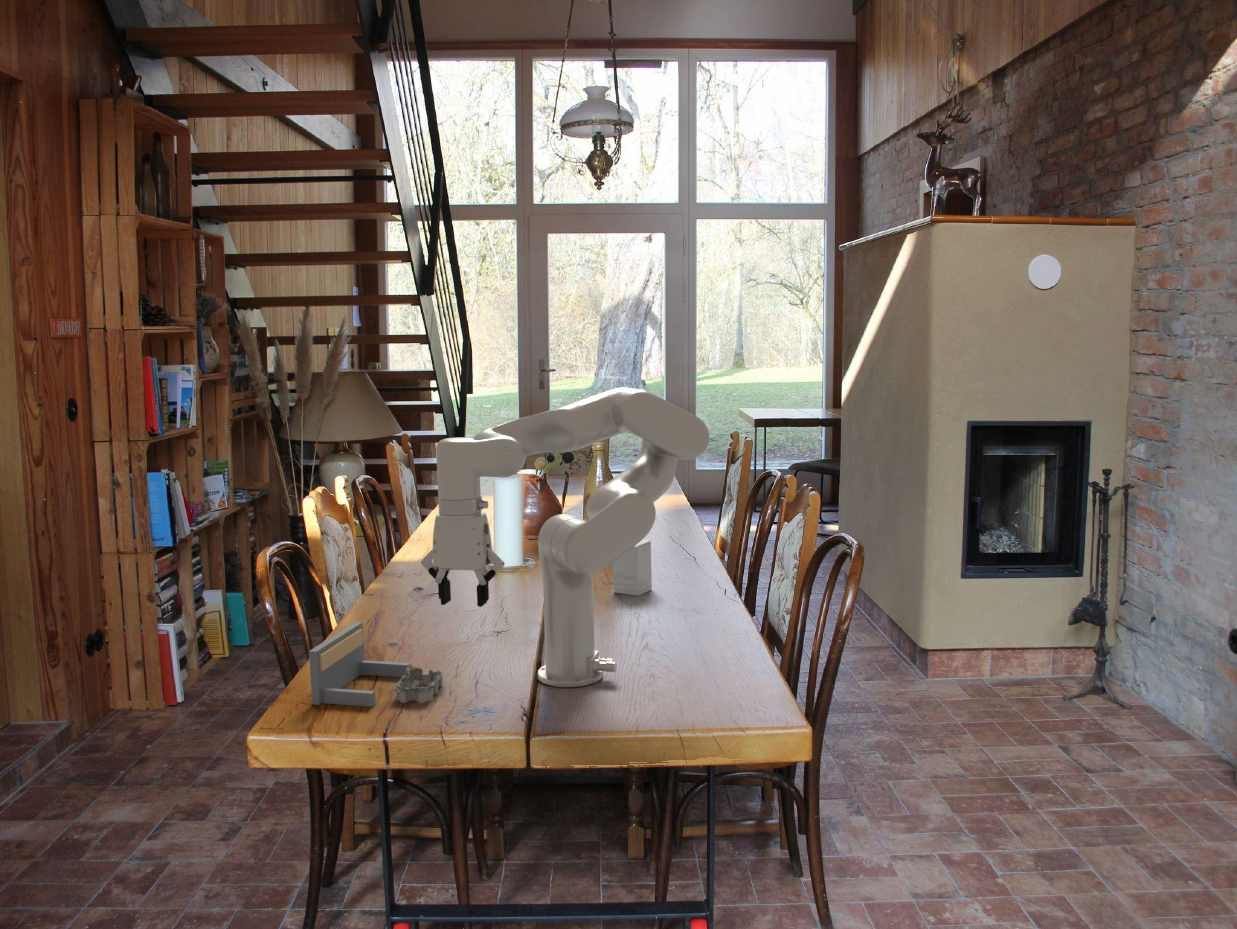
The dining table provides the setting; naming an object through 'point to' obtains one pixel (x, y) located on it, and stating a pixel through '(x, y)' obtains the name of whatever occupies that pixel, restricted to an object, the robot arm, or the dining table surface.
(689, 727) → the dining table surface
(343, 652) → the display stand
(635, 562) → the supplement box
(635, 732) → the dining table surface
